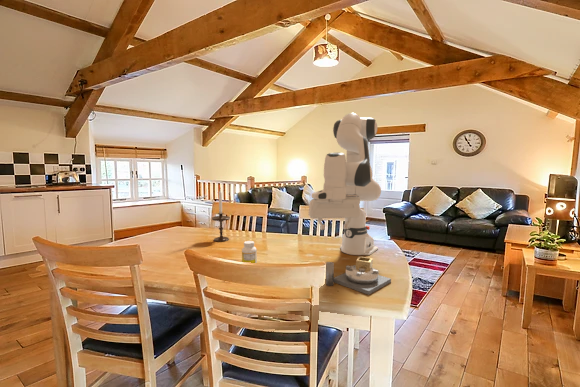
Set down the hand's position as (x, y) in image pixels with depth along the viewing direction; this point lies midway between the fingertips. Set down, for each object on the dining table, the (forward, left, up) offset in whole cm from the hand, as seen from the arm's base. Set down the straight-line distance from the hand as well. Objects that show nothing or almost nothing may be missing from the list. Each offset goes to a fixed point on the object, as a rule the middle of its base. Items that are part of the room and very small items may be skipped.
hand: (334, 229), depth 118 cm
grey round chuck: (-12, +6, -21) cm, 25 cm away
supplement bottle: (+13, -38, -23) cm, 47 cm away
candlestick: (-5, -92, -23) cm, 95 cm away
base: (-11, +6, -23) cm, 26 cm away
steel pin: (0, -2, -23) cm, 23 cm away
